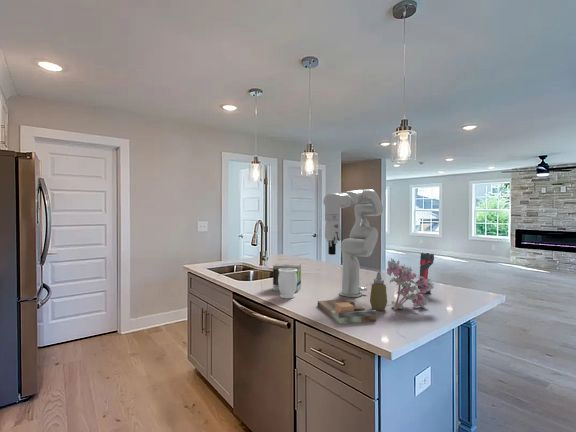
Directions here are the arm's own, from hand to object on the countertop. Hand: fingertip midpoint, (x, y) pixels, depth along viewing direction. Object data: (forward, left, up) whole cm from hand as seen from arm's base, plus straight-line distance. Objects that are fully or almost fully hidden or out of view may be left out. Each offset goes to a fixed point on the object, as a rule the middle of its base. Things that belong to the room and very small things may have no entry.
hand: (331, 254), depth 163 cm
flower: (-36, +14, -25) cm, 46 cm away
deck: (0, +15, -25) cm, 29 cm away
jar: (+18, -18, -25) cm, 36 cm away
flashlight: (-64, -10, -25) cm, 70 cm away
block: (+4, +23, -23) cm, 33 cm away
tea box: (+14, -34, -25) cm, 45 cm away
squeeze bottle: (-19, +13, -25) cm, 34 cm away
